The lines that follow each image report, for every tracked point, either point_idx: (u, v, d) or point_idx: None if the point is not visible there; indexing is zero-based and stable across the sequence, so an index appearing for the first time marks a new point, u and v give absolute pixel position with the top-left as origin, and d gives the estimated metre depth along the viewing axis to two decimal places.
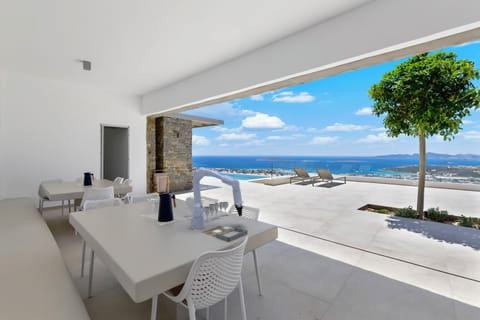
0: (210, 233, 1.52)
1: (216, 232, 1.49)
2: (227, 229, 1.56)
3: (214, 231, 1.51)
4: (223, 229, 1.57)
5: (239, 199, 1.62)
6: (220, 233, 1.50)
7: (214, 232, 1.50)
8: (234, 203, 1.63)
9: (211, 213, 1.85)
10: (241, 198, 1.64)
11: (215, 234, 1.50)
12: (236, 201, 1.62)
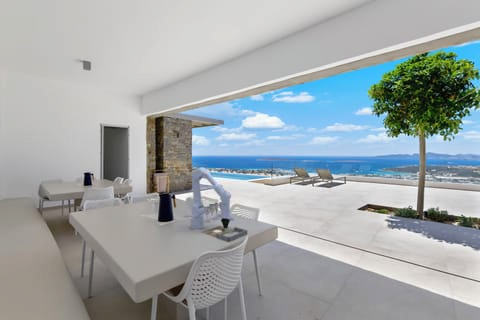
0: (210, 233, 1.52)
1: (216, 232, 1.49)
2: (229, 230, 1.54)
3: (214, 231, 1.51)
4: (225, 230, 1.56)
5: (229, 213, 1.58)
6: (220, 233, 1.50)
7: (214, 232, 1.50)
8: (224, 217, 1.56)
9: (211, 213, 1.85)
10: None
11: (215, 234, 1.50)
12: (227, 215, 1.57)
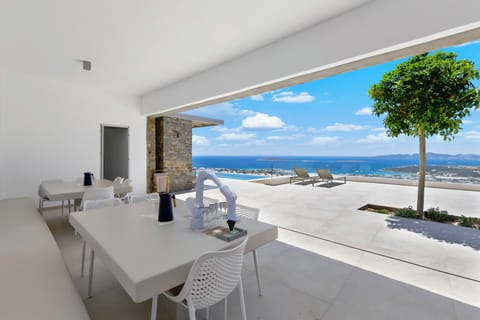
0: (210, 233, 1.52)
1: (216, 232, 1.49)
2: (234, 233, 1.50)
3: (214, 231, 1.51)
4: (230, 232, 1.53)
5: (235, 214, 1.55)
6: (220, 233, 1.50)
7: (214, 232, 1.50)
8: (230, 219, 1.52)
9: (211, 213, 1.85)
10: None
11: (215, 234, 1.50)
12: (233, 216, 1.53)
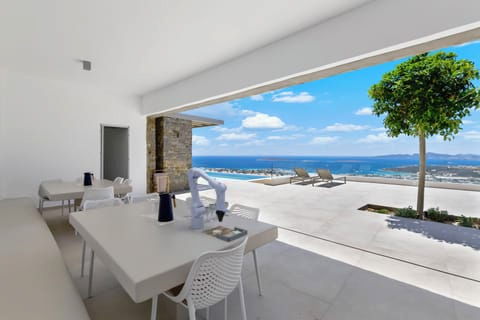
0: (210, 233, 1.52)
1: (216, 232, 1.49)
2: None
3: (214, 231, 1.51)
4: (233, 233, 1.51)
5: (224, 205, 1.54)
6: (220, 233, 1.50)
7: (214, 232, 1.50)
8: (218, 209, 1.52)
9: (211, 213, 1.85)
10: None
11: (215, 234, 1.50)
12: (222, 207, 1.53)
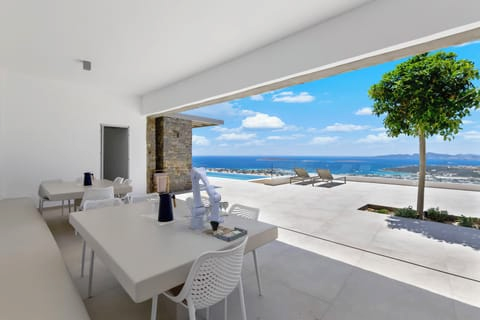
0: (210, 233, 1.52)
1: (217, 232, 1.48)
2: None
3: (215, 231, 1.50)
4: (233, 233, 1.51)
5: (218, 215, 1.52)
6: (221, 233, 1.50)
7: (215, 232, 1.50)
8: (213, 220, 1.50)
9: None
10: None
11: None
12: (216, 217, 1.51)
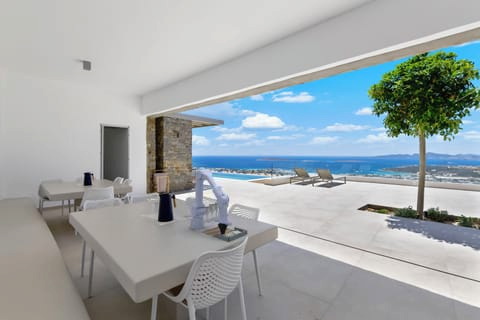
0: (210, 233, 1.52)
1: None
2: None
3: None
4: (233, 233, 1.51)
5: (226, 217, 1.47)
6: None
7: None
8: (221, 222, 1.45)
9: (211, 213, 1.85)
10: None
11: None
12: (225, 219, 1.46)
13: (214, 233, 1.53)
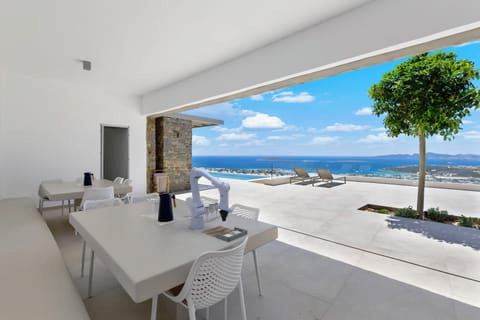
0: (210, 233, 1.52)
1: None
2: None
3: (224, 235, 1.44)
4: (233, 233, 1.51)
5: (227, 204, 1.53)
6: None
7: None
8: (222, 209, 1.51)
9: (211, 213, 1.85)
10: None
11: None
12: (226, 206, 1.52)
13: (214, 233, 1.53)
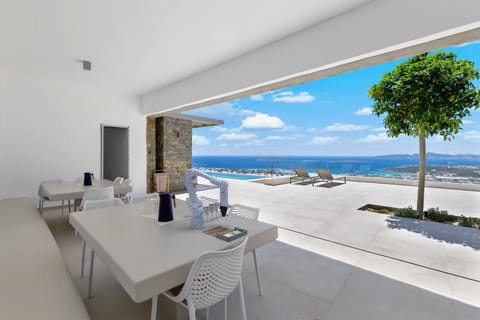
0: (210, 233, 1.52)
1: None
2: None
3: (224, 235, 1.44)
4: (233, 233, 1.51)
5: (227, 201, 1.62)
6: None
7: None
8: (222, 205, 1.60)
9: (211, 213, 1.85)
10: None
11: None
12: (225, 202, 1.60)
13: (214, 233, 1.53)
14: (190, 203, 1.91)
